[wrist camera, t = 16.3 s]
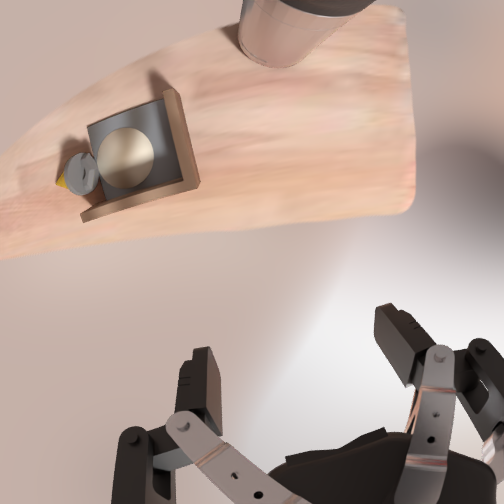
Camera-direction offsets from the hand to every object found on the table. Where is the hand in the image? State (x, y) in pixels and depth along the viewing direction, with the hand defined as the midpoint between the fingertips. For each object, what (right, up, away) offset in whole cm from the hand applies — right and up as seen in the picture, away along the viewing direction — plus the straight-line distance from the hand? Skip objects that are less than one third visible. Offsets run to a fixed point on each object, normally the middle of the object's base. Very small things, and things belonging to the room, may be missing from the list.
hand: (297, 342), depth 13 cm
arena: (-17, +16, +20) cm, 31 cm away
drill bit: (-20, +14, +16) cm, 29 cm away
